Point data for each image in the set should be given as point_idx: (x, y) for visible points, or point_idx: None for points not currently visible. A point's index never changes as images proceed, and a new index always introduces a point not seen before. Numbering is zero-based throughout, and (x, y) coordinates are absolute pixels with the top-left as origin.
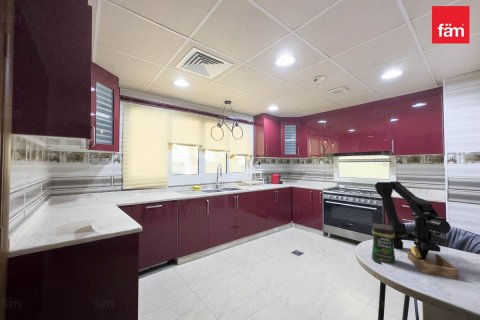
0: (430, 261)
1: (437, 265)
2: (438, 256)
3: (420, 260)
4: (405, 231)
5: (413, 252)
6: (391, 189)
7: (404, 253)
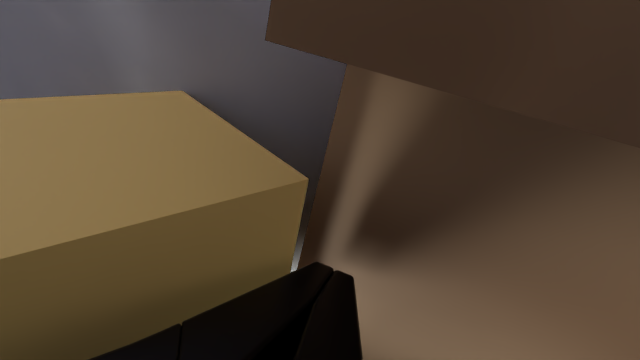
0: (369, 156)
1: (599, 165)
2: (547, 98)
3: None
4: None
5: None
6: None
7: None
